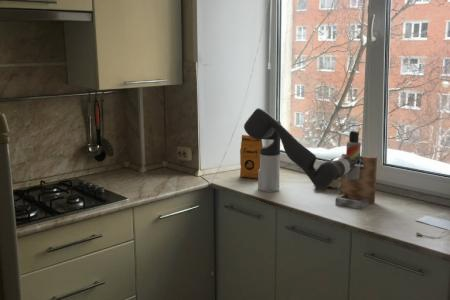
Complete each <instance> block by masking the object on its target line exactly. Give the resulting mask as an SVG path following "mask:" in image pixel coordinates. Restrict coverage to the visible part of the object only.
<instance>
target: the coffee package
mask: <svg viewBox="0 0 450 300" xmlns="http://www.w3.org/2000/svg"><path fill="white" fill-rule="evenodd" d="M262 147H264V146H263V139H262V140H256V139H254V138H252V137H251V136H249V135H248V134H241V141H240V150H239V155H240V156H239V160H240V162H239V163H240V172H239V173H240V174H239V176H240V177H242V178H248V179H254V180H255V179H257V180H258V170H259V169H260V149H261V148H262Z"/></svg>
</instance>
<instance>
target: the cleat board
mask: <svg viewBox="0 0 450 300" xmlns="http://www.w3.org/2000/svg"><path fill="white" fill-rule="evenodd" d="M341 156H346V153H343V154H341ZM360 158H362V159H363V160H365V162H364V168H363V169H361V168H360V171H359V179H347V178H346V177H345V176H343V177H340V182H339V183H340V186H339V188H340V189H339V195H338V196H337V197H335V206H340V207H346V208H350V209H351V208H352V209H359V210H363V209H364V208H366V206H369V204H370V205H374V204H375V202H376V201H375V200H376V188H377V187H376V186H377V169H378V166H377V165H378V157H374V156H367V155H360Z"/></svg>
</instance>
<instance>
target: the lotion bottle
mask: <svg viewBox="0 0 450 300" xmlns="http://www.w3.org/2000/svg"><path fill="white" fill-rule="evenodd" d="M348 135H349V137H348V139H349V140H348V141H347V142H346V152H345V154H346V156H347V157H349V158H350V159H360V156H361V149H362V148H361V145H362V143H361V142H360V141H359V136H360V132H359V131H355V130H350V131H349V134H348ZM359 171H360V168H359V167H358V166H357V167H356V168H353V170H352V171H351V172H350V173H349V174H347V175H345V177H346V178H347V179H359Z"/></svg>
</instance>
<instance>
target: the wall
mask: <svg viewBox="0 0 450 300" xmlns="http://www.w3.org/2000/svg"><path fill="white" fill-rule="evenodd" d="M340 183H341V182H340V181H339V178H338V179H336V180H333V181H332V182H331V183H330V185H329V187H331V188H332V189H335V188H337V187H340ZM313 187H315V188H317V187H316V186H315V185H314V184H313Z"/></svg>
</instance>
